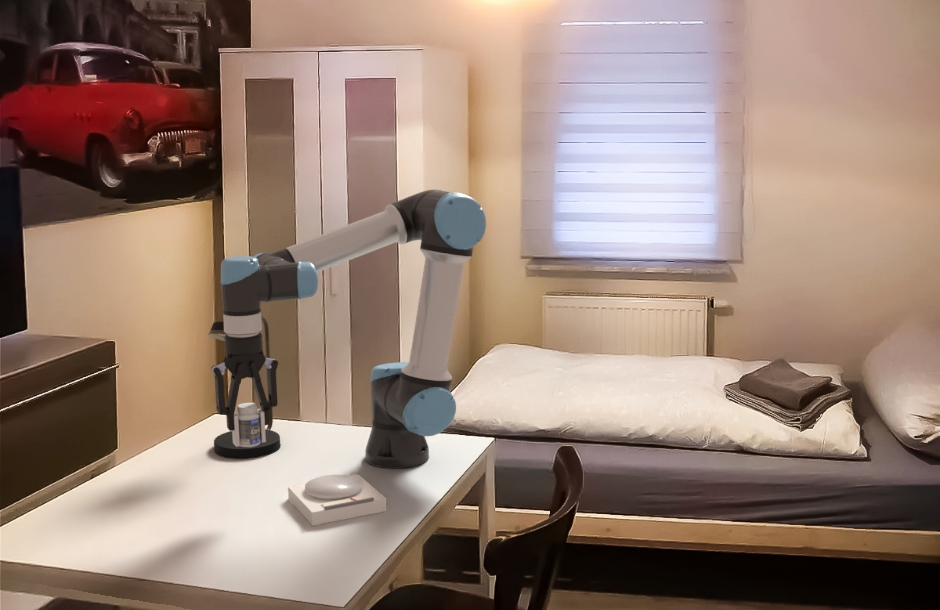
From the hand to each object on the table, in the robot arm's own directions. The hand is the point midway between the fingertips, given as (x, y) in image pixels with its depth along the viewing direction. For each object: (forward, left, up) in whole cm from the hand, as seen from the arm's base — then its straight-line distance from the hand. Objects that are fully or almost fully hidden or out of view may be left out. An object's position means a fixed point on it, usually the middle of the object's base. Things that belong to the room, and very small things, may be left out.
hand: (249, 442), depth 216 cm
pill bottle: (0, 0, -1) cm, 1 cm away
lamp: (-11, -39, -15) cm, 43 cm away
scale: (-16, +7, -14) cm, 23 cm away
